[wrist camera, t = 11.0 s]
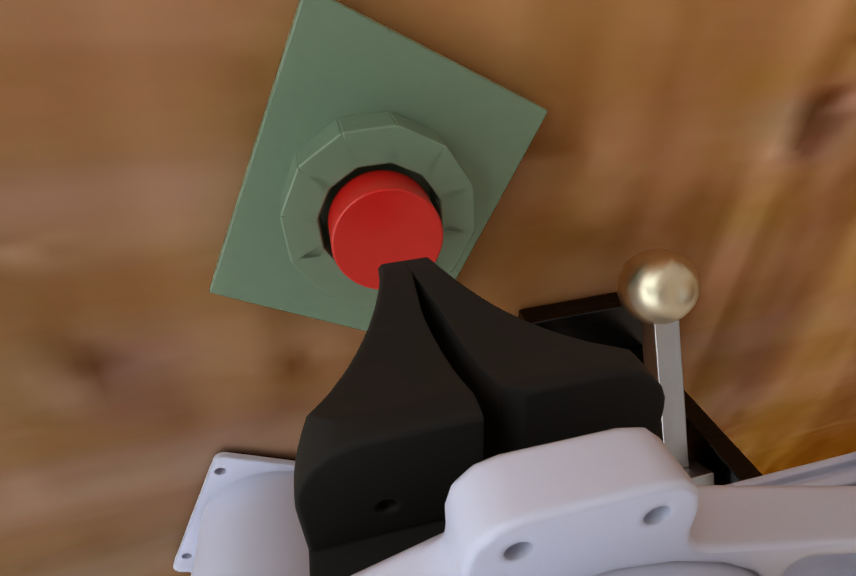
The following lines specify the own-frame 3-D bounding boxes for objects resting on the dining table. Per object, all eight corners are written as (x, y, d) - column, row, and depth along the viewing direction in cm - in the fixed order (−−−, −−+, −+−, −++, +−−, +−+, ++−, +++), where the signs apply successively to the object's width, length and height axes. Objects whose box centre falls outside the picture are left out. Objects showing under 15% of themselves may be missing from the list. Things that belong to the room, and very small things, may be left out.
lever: (599, 253, 21) (642, 258, 18) (664, 242, 22) (716, 245, 19) (623, 513, 23) (665, 556, 20) (682, 498, 23) (732, 537, 21)
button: (406, 276, 19) (415, 302, 18) (312, 248, 18) (314, 273, 16) (448, 191, 18) (463, 211, 16) (350, 152, 16) (356, 170, 15)
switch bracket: (518, 309, 25) (628, 476, 17) (666, 282, 26) (835, 426, 18) (510, 446, 30) (591, 622, 22) (633, 418, 31) (751, 575, 23)
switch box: (414, 326, 24) (429, 371, 21) (213, 274, 20) (201, 320, 18) (534, 102, 19) (572, 123, 17) (304, -17, 16) (307, -12, 13)
